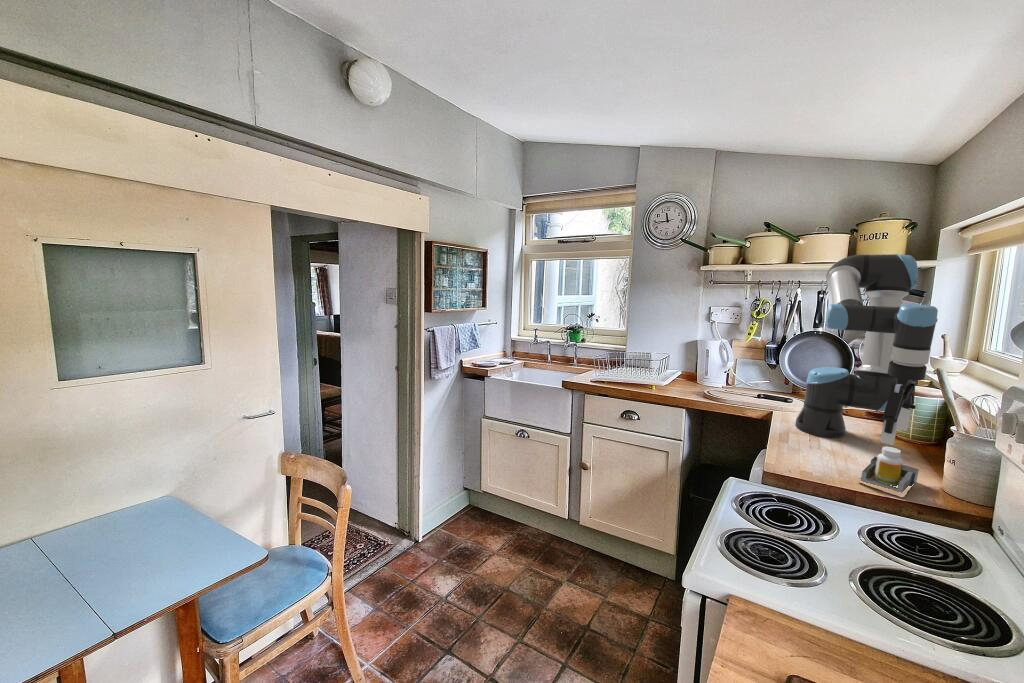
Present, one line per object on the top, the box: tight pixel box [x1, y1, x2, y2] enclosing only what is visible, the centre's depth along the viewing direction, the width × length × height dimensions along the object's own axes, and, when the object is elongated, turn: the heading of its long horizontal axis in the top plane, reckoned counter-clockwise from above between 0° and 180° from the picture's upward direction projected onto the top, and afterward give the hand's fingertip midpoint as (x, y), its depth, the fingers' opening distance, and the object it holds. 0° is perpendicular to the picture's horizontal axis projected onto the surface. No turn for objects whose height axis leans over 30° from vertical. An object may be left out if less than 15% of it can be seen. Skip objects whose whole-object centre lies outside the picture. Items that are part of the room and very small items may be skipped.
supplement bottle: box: [874, 446, 903, 486], centre depth 123 cm, size 5×5×10 cm
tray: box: [859, 456, 920, 493], centre depth 124 cm, size 14×10×5 cm
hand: (893, 436), depth 121 cm, fingers open, 13 cm apart
